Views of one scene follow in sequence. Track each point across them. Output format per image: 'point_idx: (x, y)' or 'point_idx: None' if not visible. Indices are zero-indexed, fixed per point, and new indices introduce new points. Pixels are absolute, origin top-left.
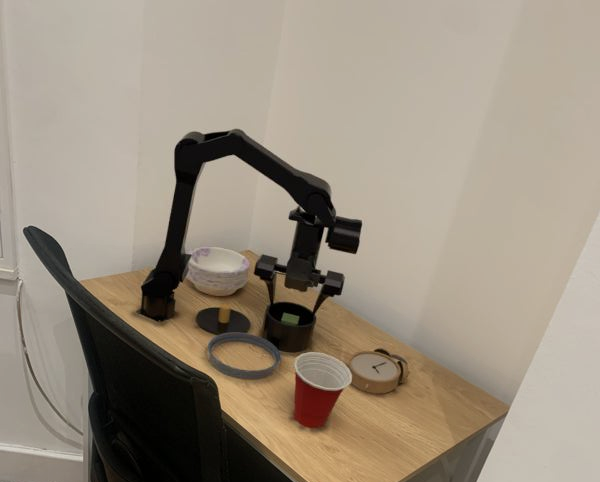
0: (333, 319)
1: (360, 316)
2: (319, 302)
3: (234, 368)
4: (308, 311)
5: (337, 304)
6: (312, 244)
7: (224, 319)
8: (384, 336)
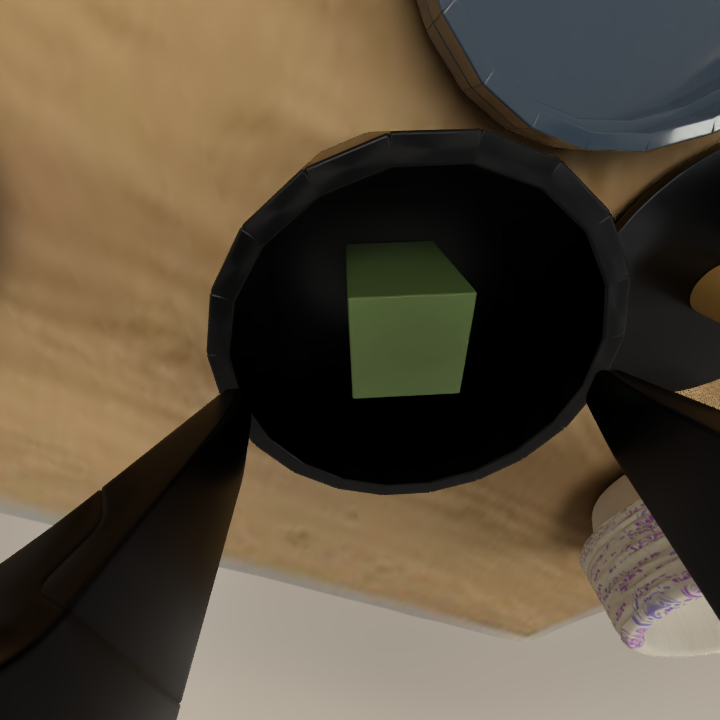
0: (248, 505)
1: None
2: (95, 525)
3: None
4: (308, 458)
5: (266, 566)
6: None
7: None
8: (44, 495)
